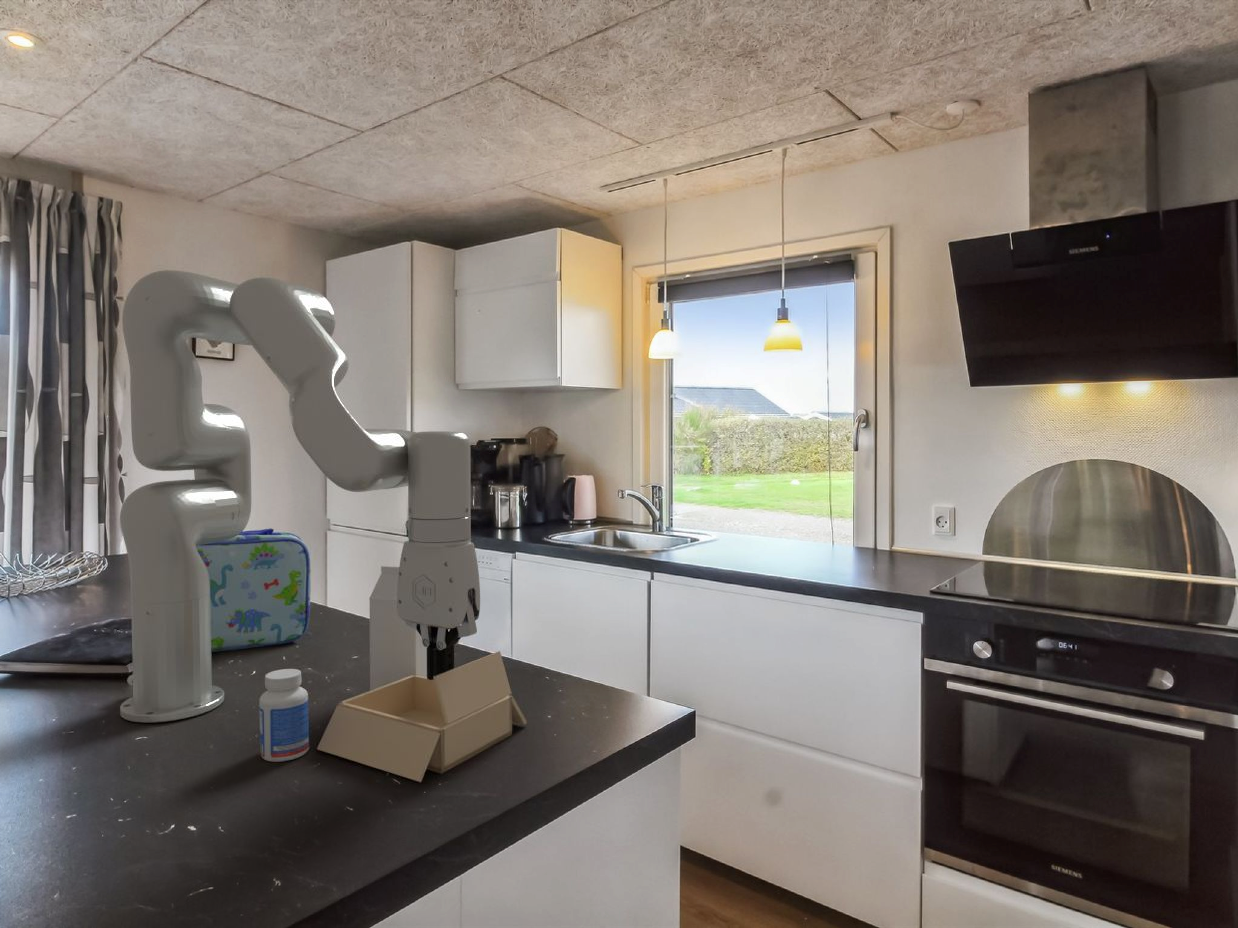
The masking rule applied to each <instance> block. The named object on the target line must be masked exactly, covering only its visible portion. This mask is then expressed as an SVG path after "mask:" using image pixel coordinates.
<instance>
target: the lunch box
mask: <svg viewBox="0 0 1238 928" xmlns="http://www.w3.org/2000/svg"><path fill="white" fill-rule="evenodd" d="M196 549H197V551H198V553H199V555H200V557H201V558H202V560H203V562H204V564H205V566H206V568H207V570H208V574H209V579H210V603H211V653H215V652H216V653H218V652H222V651H223V652H224V651H225V652H226V651H235V650H242V649H250V648H251V649H252V648H259V647H265V646H273V645H280V644H281V645H282V644H288V643H291V642H294V641H296V640H298V639H300V638H302V637H303V636H304V635H305V634H306V632H307V630H308V627H309V624H310V623H309V622H310V613H311V612H310V611H311V594H312V593H311V591H312V589H311V588H312V585H311V584H312V580H311V579H312V578H311V576H312V575H311V572H312V571H311V570H312V568H311V556H310V551H309V548H308V546H307V545H306V543H305V542H304V541H303V540H302V538H301V537H300V536H298V535H296V534H294V533H291V532H278V531H277V532H274V528H269V527H268V528H264V529H257V530H256V529H255V530H243V531H242V532H241V533H240V534H239V535H237V536H235V537H234V538H231V539H228V540H224V541H220V542H214V543H209V544H203V545H199V546H196Z"/></svg>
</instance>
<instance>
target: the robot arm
mask: <svg viewBox="0 0 1238 928" xmlns="http://www.w3.org/2000/svg"><path fill="white" fill-rule="evenodd" d="M121 317H122V319H121V320H122V323H121V324H122V326H121V327H122V333H123V339H124V344H125V348H126V354H127V358H128V363H129V374H130V375H129V376H130V377H129V378H130V380H129V381H130V382H129V384H130V385H129V386H130V387H129V388H130V393H129V394H130V396H129V397H130V423H131V424H130V427H131V431H130V432H131V442H132V451H133V454H134V457H135V459H136V460H137V462H138V463H139V464H140V465H141V466H143V467H145V468H147V469H150V470H152V471H153V470H154V471H159V472H160V471H161V472H176V471H178V472H180V471H181V472H182V471H193V473H194V474H193V475H194V479H177V480H165V481H164V480H163V481H156V482H152V483H149V484H145V485H142V486H140V487H138V488H136V489H135V490H134V491H132V492H130V494H129V495H128V496H127V497H126V498H125V500H124V501H123V502H122V505H121V509H120V513H119V515H120V516H119V520H120V528H121V533H122V536H123V540H124V545H125V548H126V549H125V550H126V553H127V559H128V565H129V578H130V579H129V580H130V603H131V604H130V606H131V644H132V645H131V648H132V649H131V650H132V651H131V652H132V655H131V656H132V657H131V658H132V674H131V675H129V676H128V677H127V678H126V679H127V680H126V683H128V685H130V686H132V691H133V692H132V695H133V696H131V697H129V698H127V699H125V700H124V701H123V702H122V703H121V704H120V707H119V714H120V717H121V718H123V720H126V721H129V722H135V723H142V724H143V723H145V724H146V723H148V724H149V723H165V722H173V721H178V720H179V721H180V720H183V719H187V718H191V717H196V716H199V715H201V714H204V713H207V712H210V711H212V710H214V709H216V708H217V707H219V706H220V705H221V704H223V702H224V701H225V691H224V690H223V688H221V687H219V686H217V685H214V684H212V683H213V682H212V673H213V672H212V652H211V603H210V579H209V574H208V570H207V568H206V566H205V564H204V562H203V560H202V558H201V557H200V555H199V553H198V551H197V549H196V546H199V545H203V544H209V543H214V542H220V541H224V540H228V539H231V538H234V537H235V536H237V535H239V534H240V533H241V532H243V531H245V528H247V525H248V523H249V521H250V518H251V513H252V457H251V455H252V453H251V452H252V451H251V449H252V448H251V439H250V434H249V431H248V427H247V426H246V424H245V422H244V420H243V418H242V417H241V415H239V414H238V412H236V411H235V410H233V409H232V408H230V407H228V406H225V405H221V404H214V403H204V399H203V389H202V387H203V386H202V385H203V384H202V383H203V382H202V381H203V378H202V377H203V376H202V371H201V368H200V364H199V361H198V360H197V358H196V355H195V354H194V352H193V350H192V349H191V348H190V346H189V344H188V343H187V340H188V339H189V338H190V339H192V338H193V339H194V338H195V339H202V340H208V341H214V342H222V343H227V344H233V345H242V346H252V348H253V349H254V351H256V353H257V354H258V355H259V357H261V359H262V360H263V361H264V363H265V364H266V366H267V367H268V368H269V369H270V370H271V372H272V373H273V374H274V376H275V377H276V378H277V379H278V380H279V382H280V384H281V385H282V386H283V387H284V388H285V390H286V391H287V392H288V394H289V401H288V402H289V403H288V408H289V409H288V411H289V415H290V416H289V417H290V420H291V425H292V429H293V432H294V435H295V436H296V439H297V441H298V442H299V444H300V446H301V447H302V448H303V450H304V451H305V452H306V454H307V455H308V456H309V457H310V459H311V460H312V461H313V462H314V464H315V465H316V467H318V469H319V470H320V471H321V473H322V474H324V476H325V477H326V478H327V479H329V481H331V483H333V484H334V485H336V486H337V487H339V488H341V489H343V490H344V491H348V492H352V493H364V492H371V491H378V490H380V491H381V490H389V489H398V488H399V489H400V488H404V487H407V500H408V501H407V506H408V507H407V508H408V509H407V512H408V513H407V515H408V518H407V520H406V522H405V528H406V530H408V536H407V537H408V540H406V541H404V542H403V544H402V545H403V546H402V549H401V554H400V559H399V566H398V567H399V576H398V592H397V611H398V615H399V617H400V618H401V619H403V620H404V621H406V624H407V625H408V626H410V627H412V628H413V629H415V630H417V631H418V633H419V634H420V636H421V637H422V644H423V646H424V647H427V679H429V680H433V679H434V678H433V677H434V676H437V675H439V674H442V673H445V672H447V671H450V670H452V669H455V646H457V645H458V644H459V641H460V640H461V638H465V637H470V636H473V635H476V634H477V632H478V629H477V624H476V621H477V620H478V619H479V617H480V612H481V586H480V585H481V584H480V574H479V564H478V559H477V552H476V547H475V544H474V542H472V538H471V537H472V536H471V534H472V532H471V530H472V528H471V526H472V525H471V524H472V523H471V521H472V520H471V518H472V517H471V512H472V511H471V509H472V508H471V503H472V502H471V499H472V497H471V495H472V494H471V489H472V487H471V484H472V483H471V476H472V475H471V472H472V471H471V442H470V439H469V437H468V436H467V435H466V434H465V433H462V432H459V431H434V430H433V431H432V430H431V431H430V430H429V431H419V432H416V431H411V430H405V429H394V428H393V429H387V428H363V427H362V426H361V425H360V424H359V423H358V422H357V420H356V419H355V418H354V417H353V415H352V414H351V413H350V412H349V410H348V409H347V408H346V407H345V406H344V404H343V402H342V401H341V400H340V398H339V396H338V393H337V391H336V389H335V388H337V386H338V385H340V383H341V382H342V381H343V379H344V378H345V376H346V375H347V373H348V369H349V361H348V360H349V359H348V357H347V355H346V354H345V353H344V351H343V350H342V349H341V348H340V347H339V346H338V344H337V343H336V342H335V341H334V339H333V338H332V336H333V334H334V332H335V330H336V329H335V328H336V316H335V311H334V309H333V307H332V305H331V303H330V302H329V300H328V299H327V298H326V297H325V296H324V295H323V294H322V293H320V292H319V291H318V290H315V289H313V288H311V287H307V286H304V285H300V284H296V283H292V282H288V281H285V280H281V279H277V278H274V277H273V278H271V277H255V278H250V279H247V280H246V281H243V282H241V283H240V284H237V283H235V282H231V281H226V280H222V279H218V278H214V277H211V276H207V275H203V274H199V273H196V272H195V273H193V272H189V271H183V270H175V269H174V270H173V269H172V270H168V269H167V270H158V271H154V272H151V273H149V274H146V275H144V276H143V277H142V278H140V279H139V280H138V281H136V283H134V285H133V286H132V287H131V289H130V290H129V292H128V293H127V295H126V298H125V300H124V304H123V309H122V315H121Z"/></svg>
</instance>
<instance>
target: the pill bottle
mask: <svg viewBox="0 0 1238 928" xmlns="http://www.w3.org/2000/svg"><path fill="white" fill-rule="evenodd" d="M302 681H303V679H302V672H301V670H299V669H297V668H296V669H295V668H284V669H283V668H282V669H277V670H272V671H270V672H268V673H266V674H265V675H264V686H265V687H264V688H265V689H267V690H266V691H264V692H263V693H262V694H261V696H259V700H258V703H259V704H258V707H259V708H258V709H259V715H258V716H259V743H260V744H259V746H260V747H259V748H260V749H259V750H260V752H259V753H260V756H261V758H262V759H263V760H265V761H267V762H272V763H279V762H287V761H292V760H295V759H298V758H300V757H302V756H304V755H306V753H307V752H308V751H309V749H310V732H309V731H310V728H309V727H310V726H309V693H308V691H307V690H306V689H305V688H303V687H302V686H301V684H302Z"/></svg>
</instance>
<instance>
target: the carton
mask: <svg viewBox="0 0 1238 928" xmlns="http://www.w3.org/2000/svg"><path fill="white" fill-rule="evenodd" d="M335 707H336V708H335V710H334V712H333V713H332V716H331V717H330V720H329V722H328V724H327V727H326V728H325V730H324V733H323V735H322V737H321V739H320V741H319V743H318V746H317V747H316V750H318V751H320V752H321V751H322V752H324V753H328V754H331V755H334V756H336V757H337V756H338V757H339V758H344V759H345V760H349V761H353V762H356V763H359V764H362V765H365V766H368V767H371V768H374V769H378V770H381V771H384V772H388V773H391V774H394V775H396V776H400V777H403V778H407V779H409V780H413V781H415V782H418V783H422V781H423V778H424V776H425V772H426V771H427V770H428V771H432V772H435V773H439V774H441V775H443V773H446V772H447V771H449V770H450V769H453V768H455V767H457V766H458V765H460V764H462V763H464V762H465V761H468V760H469V759H471V758H473V757H475V756H476V755H478V754H480V753H482V752H484V751H485V750H487V749H489V748H491V747H493V746H494V745H496V744H497V743H500V742H502V741H503V740H506V739H507V738H508V737H511V736H513V723H515V724H519V725H523V726H525V725H526V724H528V722H527V720H526V718H525V716H524V714H523V713H522V710H521V709H520V707H519V705H518V703H517V702H516V700H515V698H514V696H513V695H511V694H510V695H508V696H506V697H503V698H501V699H499V700H497V701H495V702H493V703H491V704H489V705H487V706H485V707H482V708H480V709H478V710H476V711H474V712H472V713H470V714H468V715H466V716H464V717H461V718H459V719H457V720H455V721H453V722H451V723H449V724H446V723H445V720H444V716H443V712H442V708H441V704H440V701H439V697H438V693H437V689H436V685H435V682H434V679H433V680H429V679H427V677H425V676H421V675H412V676H408V677H406V678H403V679H400V680H398V681H395V682H392V683H390V684H387V685H384V686H382V687H379V688H376V689H374V690H371V691H370V690H369V691H366V692H363V693H361V694H358V695H354V696H353V697H349V698H347V699H345V700H342V701H340V702H338V705H336V706H335Z"/></svg>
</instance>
